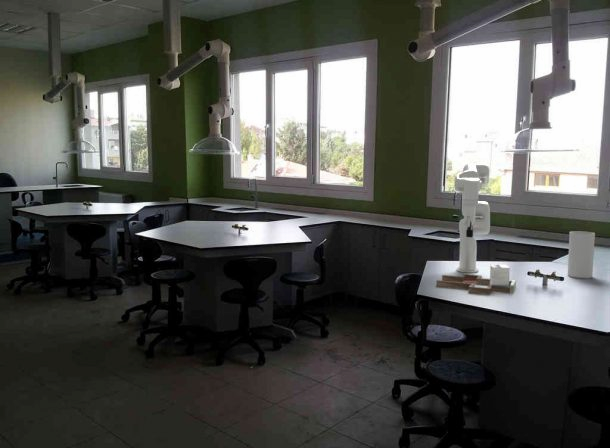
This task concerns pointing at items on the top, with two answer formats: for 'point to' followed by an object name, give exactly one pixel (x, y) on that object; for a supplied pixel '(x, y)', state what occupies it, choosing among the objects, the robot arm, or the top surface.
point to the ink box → (499, 275)
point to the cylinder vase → (581, 254)
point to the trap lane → (471, 279)
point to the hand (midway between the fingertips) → (469, 236)
